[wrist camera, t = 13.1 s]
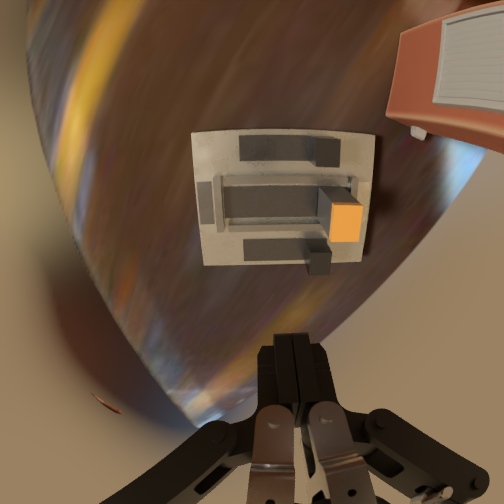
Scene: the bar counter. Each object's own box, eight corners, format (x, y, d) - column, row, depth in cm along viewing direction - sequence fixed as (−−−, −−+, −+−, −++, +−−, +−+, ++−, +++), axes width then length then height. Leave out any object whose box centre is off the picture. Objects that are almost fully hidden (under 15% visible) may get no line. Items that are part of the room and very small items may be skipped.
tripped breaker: (318, 186, 29) (334, 205, 23) (343, 187, 29) (363, 205, 23) (317, 217, 30) (330, 242, 25) (340, 217, 30) (358, 241, 25)
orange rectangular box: (437, 46, 21) (420, 142, 28) (394, 21, 20) (375, 122, 27) (562, 35, 2) (555, 196, 9) (515, -24, 1) (518, 156, 8)
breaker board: (195, 132, 28) (182, 135, 23) (368, 133, 28) (389, 138, 23) (206, 257, 36) (199, 282, 31) (356, 254, 35) (370, 277, 30)
